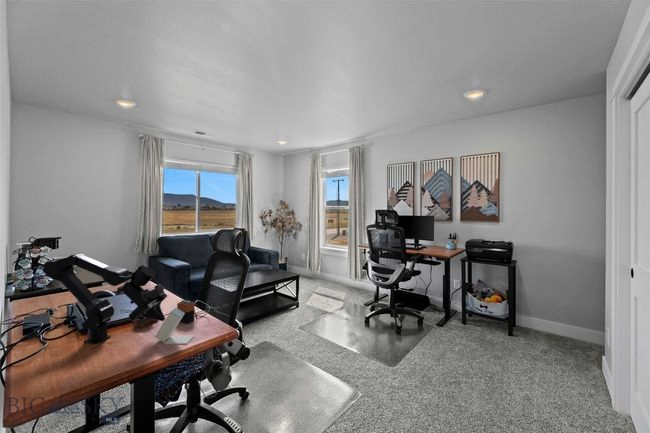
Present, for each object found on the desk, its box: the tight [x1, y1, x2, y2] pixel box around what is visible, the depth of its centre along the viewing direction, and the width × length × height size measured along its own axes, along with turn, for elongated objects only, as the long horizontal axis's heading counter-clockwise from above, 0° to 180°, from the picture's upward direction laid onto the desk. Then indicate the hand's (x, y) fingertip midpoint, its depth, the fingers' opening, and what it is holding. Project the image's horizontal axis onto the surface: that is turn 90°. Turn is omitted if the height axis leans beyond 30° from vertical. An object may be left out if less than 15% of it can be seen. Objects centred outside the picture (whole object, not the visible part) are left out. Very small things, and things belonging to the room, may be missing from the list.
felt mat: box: [163, 334, 195, 345], centre depth 121 cm, size 9×7×1 cm
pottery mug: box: [133, 312, 159, 328], centre depth 136 cm, size 12×10×8 cm
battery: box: [176, 299, 195, 325], centre depth 140 cm, size 4×7×10 cm, turn 69°
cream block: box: [154, 307, 185, 343], centre depth 120 cm, size 4×4×12 cm
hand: (164, 320), depth 120 cm, fingers closed
